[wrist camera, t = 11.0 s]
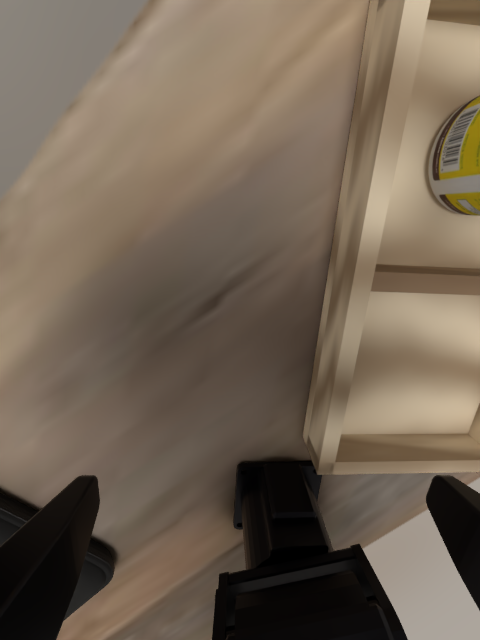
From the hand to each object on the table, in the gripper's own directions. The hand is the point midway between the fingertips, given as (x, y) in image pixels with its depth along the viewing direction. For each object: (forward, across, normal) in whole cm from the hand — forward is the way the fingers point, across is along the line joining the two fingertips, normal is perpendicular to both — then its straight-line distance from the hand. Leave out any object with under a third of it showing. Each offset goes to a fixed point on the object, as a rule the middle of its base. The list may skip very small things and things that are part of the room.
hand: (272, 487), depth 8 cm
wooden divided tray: (+12, -12, -4) cm, 17 cm away
